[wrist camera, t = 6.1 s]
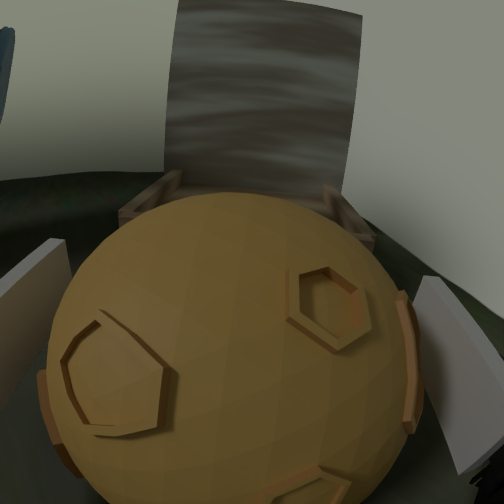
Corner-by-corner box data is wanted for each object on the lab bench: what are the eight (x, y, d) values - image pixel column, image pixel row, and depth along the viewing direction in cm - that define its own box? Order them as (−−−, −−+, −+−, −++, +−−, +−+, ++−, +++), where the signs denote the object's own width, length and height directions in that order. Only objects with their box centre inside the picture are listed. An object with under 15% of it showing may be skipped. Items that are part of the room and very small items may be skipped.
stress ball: (160, 373, 15) (-25, 343, 6) (279, 226, 15) (141, 68, 6) (291, 516, 9) (135, 647, 1) (454, 352, 9) (625, 299, 1)
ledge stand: (372, 318, 19) (428, -36, 9) (107, 291, 19) (124, -65, 8) (328, 229, 34) (356, 20, 23) (168, 213, 33) (184, 3, 23)
